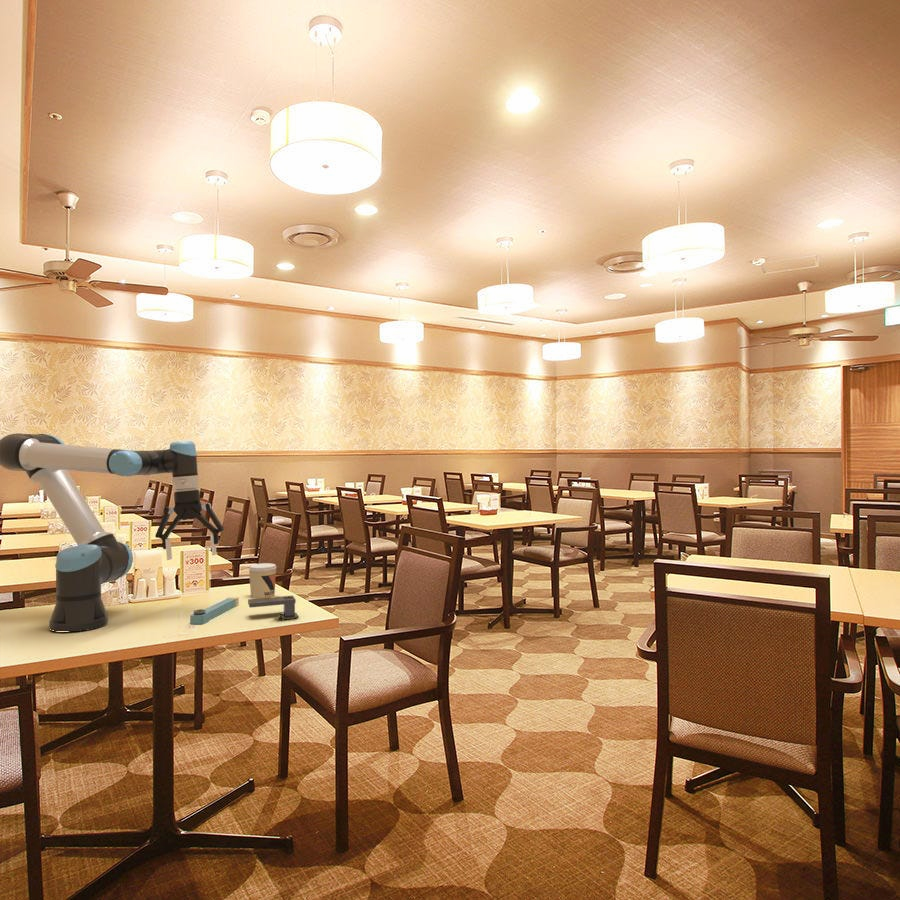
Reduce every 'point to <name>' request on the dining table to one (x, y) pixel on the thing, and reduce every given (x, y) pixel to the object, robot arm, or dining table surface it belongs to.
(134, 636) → the dining table surface
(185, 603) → the dining table surface
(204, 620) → the swing link
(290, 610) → the bracket
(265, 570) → the coffee cup
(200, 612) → the pintle base
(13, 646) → the dining table surface
